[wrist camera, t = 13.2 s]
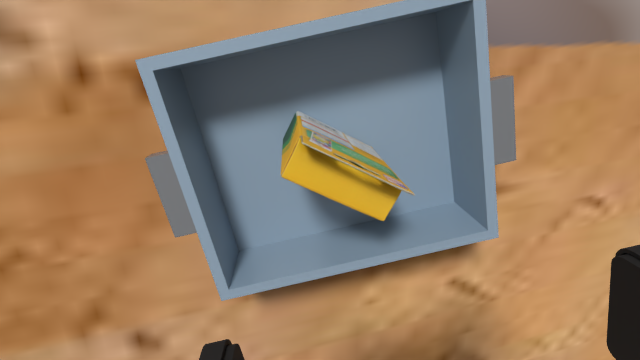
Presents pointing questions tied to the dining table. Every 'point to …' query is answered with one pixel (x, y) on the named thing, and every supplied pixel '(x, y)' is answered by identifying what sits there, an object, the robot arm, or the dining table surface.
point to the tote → (343, 115)
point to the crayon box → (339, 167)
